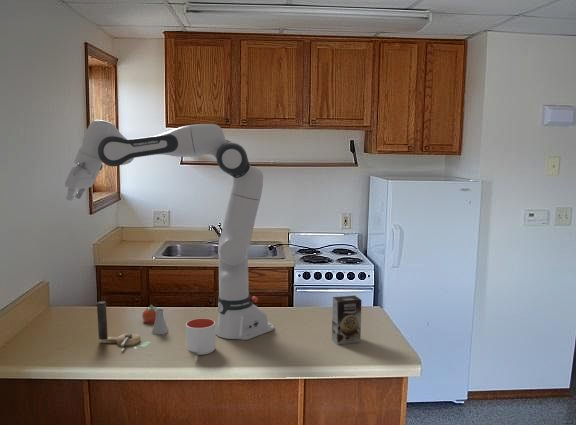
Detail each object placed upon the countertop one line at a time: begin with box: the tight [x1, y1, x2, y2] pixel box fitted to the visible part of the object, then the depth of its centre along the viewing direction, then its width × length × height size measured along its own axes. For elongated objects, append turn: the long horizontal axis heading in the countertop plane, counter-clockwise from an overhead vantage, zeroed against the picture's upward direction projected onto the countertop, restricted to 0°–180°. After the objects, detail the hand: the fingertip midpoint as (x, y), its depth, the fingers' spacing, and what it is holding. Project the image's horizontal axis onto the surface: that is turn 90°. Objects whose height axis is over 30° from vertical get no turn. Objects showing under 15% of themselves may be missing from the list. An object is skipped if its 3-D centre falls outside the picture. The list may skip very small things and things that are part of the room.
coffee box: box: [331, 294, 362, 346], centre depth 193 cm, size 9×6×16 cm
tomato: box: [141, 304, 158, 324], centre depth 210 cm, size 7×7×8 cm
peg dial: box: [96, 301, 141, 347], centre depth 186 cm, size 14×12×14 cm
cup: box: [185, 317, 217, 356], centre depth 184 cm, size 10×10×10 cm
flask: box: [151, 307, 169, 335], centre depth 198 cm, size 7×7×10 cm
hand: (73, 198), depth 188 cm, fingers open, 8 cm apart
